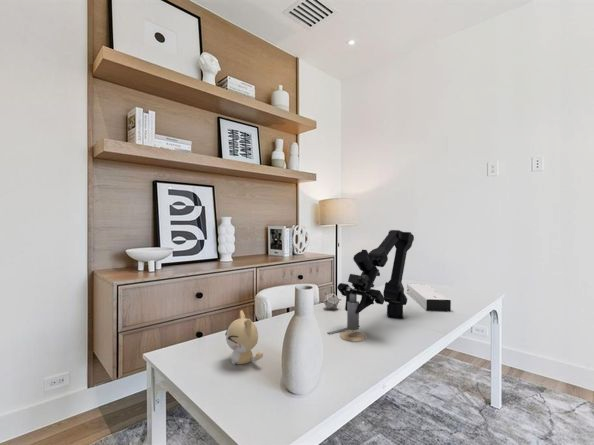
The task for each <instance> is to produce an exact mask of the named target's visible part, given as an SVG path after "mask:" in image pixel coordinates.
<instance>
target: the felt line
mask: <svg viewBox="0 0 594 445" xmlns="http://www.w3.org/2000/svg"><path fill="white" fill-rule="evenodd" d="M360 327H361V326H360V325H359V328H360ZM344 331H350V330H349V329H347V327H344V328H339V329H336V330H333V331H329V332H327V335H329V336H330V335H334V334H337V333H341V332H344Z"/></svg>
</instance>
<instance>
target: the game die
mask: <svg viewBox="0 0 594 445" xmlns="http://www.w3.org/2000/svg"><path fill="white" fill-rule="evenodd" d="M324 294H325V296H324V299H323V300H322V301H321V304H322V303H323V304H324V306H325V307H326V308H327V311H329V309H330V310H331V309H336V310H338V305H339V303H340V302H341V301H342V299H339V297H338V295H336V291H334V292H333V293H332V292H331V293H327V292H324Z"/></svg>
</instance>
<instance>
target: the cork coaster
mask: <svg viewBox="0 0 594 445" xmlns="http://www.w3.org/2000/svg"><path fill="white" fill-rule="evenodd" d="M339 338H340V339H341V340H343V341H347V342H352V343H359V342H363V341H364V342H365V340H366V339H367V335H366V333H363V332H361V331H359V330H345V331H341V332H339Z"/></svg>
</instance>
